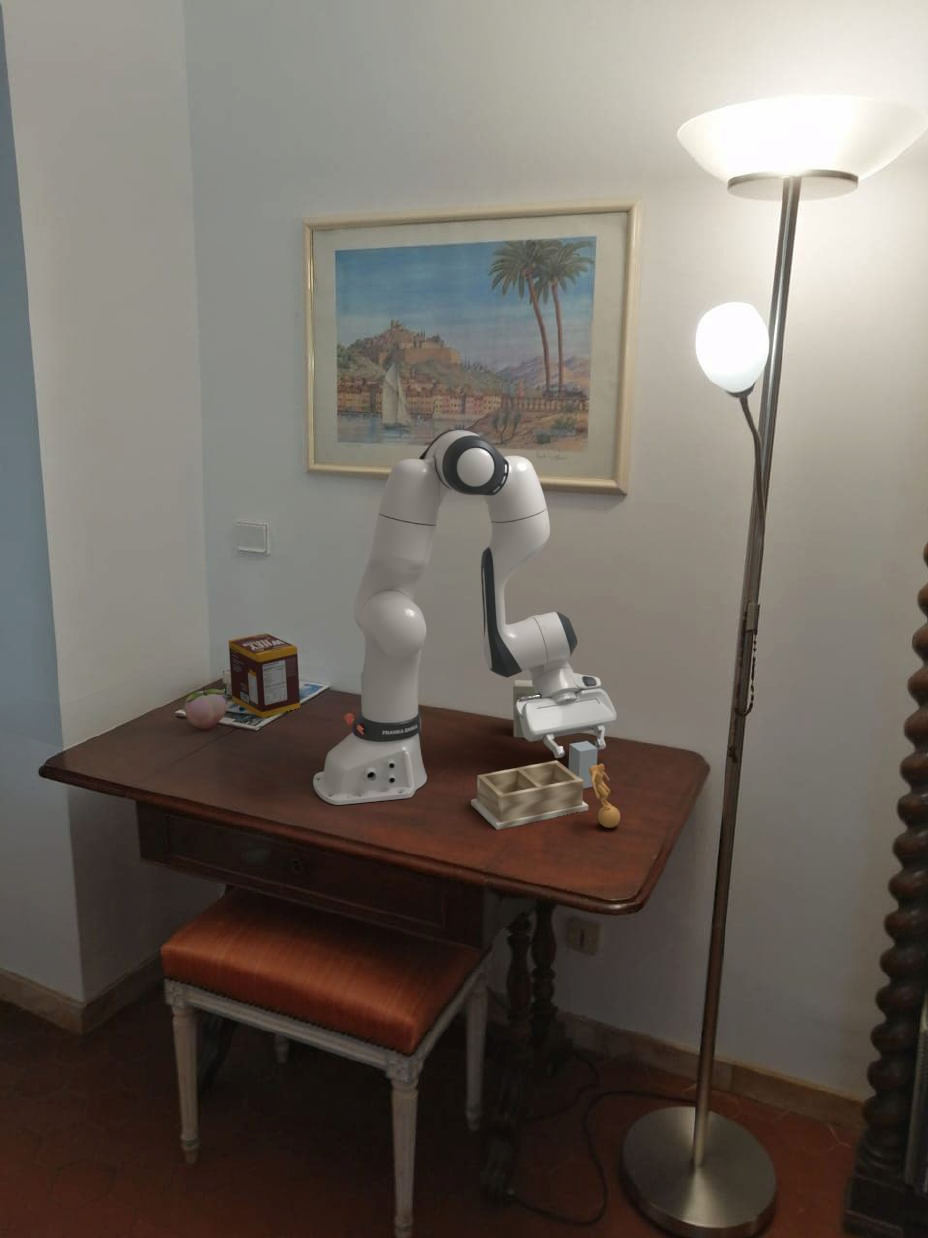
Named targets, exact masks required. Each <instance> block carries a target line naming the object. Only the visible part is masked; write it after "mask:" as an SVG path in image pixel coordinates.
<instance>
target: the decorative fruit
mask: <svg viewBox="0 0 928 1238" xmlns="http://www.w3.org/2000/svg"><path fill="white" fill-rule="evenodd" d="M221 694H226V692H224V691H223V690H222V689H217V688H210V689H207V690H205V687H202V690H201V691H196V692H194V693H192V694H190V695H188V697H187V698H186V699H185V700H184V713H185V717H186V718H187V720H188V721H189V723H191V725H192V726H194V727H196V728H199V729H203V730H209V729H211V728H213V727H214V726H216V725H217V724H219V722H220V721H221V720H222V719H223V718H224V717H225V714H226V712H227V709H228V708H227V701H226V699H225V697H223V695H221Z"/></svg>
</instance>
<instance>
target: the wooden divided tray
mask: <svg viewBox="0 0 928 1238" xmlns="http://www.w3.org/2000/svg"><path fill="white" fill-rule="evenodd" d="M476 778H477V785H476V787H477V791H476V795H477V796H476V798H473V799H471V800H470V801H471V802H470V805H471V806H472V807H473V808H474V809H475V810H477V812H478V813H479V814H480V815H481V816H483V818H484V819H485V820H486V821H487V822H488V823H490V825H492V827H494V829H496V830H498V831H499V830H502V829H507V828H512V827H517V826H521V825H526V824H530V823H535V822H539V821H540V822H541V821H545V820H549V819H553V818H557V817H558V816H559V817H563V815H564V816H568V815H571V814H572V813H573V814H577V813H582V812H586V811H589V804H587V803H586V802H585V801H584V800H583V798H584V797H583V795H584V788H583V780H582V779H581V778H579V777H578V776H577V775H575V774H574V773H573V772H571V771H570V770H569V768H568V767H566V766H564V765H563V764H562V763H561V762H560V761H558V760H552V761H547V762H546V761H545V762H542V763H541V762H540V763H537V764H529V765H526V766H525V765H524V766H519V767H515V768H510V769H504V770H499V771H493V772H490V773H488V772H487V773H483V774H478V775H477V777H476ZM576 812H577V813H576ZM567 814H568V815H567ZM559 817H558V818H559Z"/></svg>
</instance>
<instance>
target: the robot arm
mask: <svg viewBox="0 0 928 1238" xmlns="http://www.w3.org/2000/svg"><path fill="white" fill-rule="evenodd" d="M452 490H453V491H455V492H458V493H460V494H463V495H467V496H483V499H484V501H485V503H486V505H487V509H488V513H489V515H488V516H489V518H490V524H491V536H490V540H489V544H488V546H487V547H486V548H485V549H484V550H482V553H481V554H482V555H481V560H480V579H481V583H480V584H481V595H482V596H481V598H482V599H481V600H482V614H483V615H482V617H483V647H482V648H483V651H482V652H483V657H484V660H485V663H486V665H487V667H488V669H489V671H491V672H493V673H494V674H496V675H498V676H501V677H503V678H507V679H508V678H510V677H513V676H515V675H518V674H520V673H522V672H525V671H528V672H529V673H530V677H531V680H532V685H533V687H534V690H535V693H536V694H534V695H530V696H522V697H520V698H519V699H518V700H517V701H516V703H515V708H516V711H517V713H518V715H519V716H520V722H521V727H522V731H523V734H524V737H523V738H524V739H525V740H527V741H528V742H532V743H533V742H535V741H542V742H543V743H544V745H545V746H546V747H547V748H548V749H549V750H550V751H551V752H553V755H554V758H555V759H560V758H563V757H564V756H566V755H565V754H566V752H565V750H564V746H562V745H560V746H559V745H558V744H557V742H555V741H554V740H555V738H558V737H563V736H568V735H574V734H579V733H585V732H591V731H593V732H594V735H597V736H596V737H597V739H596V740H595V741H594V742H593V745H594V746H595V747H597V748H598V751H601V750H604V749H605V748H606V746H607V745H606V741H605V732H606V728H610V727H611V726H612V725H613V724H614V723H615V722H616V720H617V716H618V714H617V711H616V708H615V707H614V704H613V702H612V701H611V699H610V698H611V697H609V695H608V693H607V692H606V691H605V690H604V689H602V688H601V686H602V682H601V680H600V678H599V677H597V676H592V675H587V674H582V673H581V674H580V673H577V672H575V671H574V670H573V668H572V667H571V665H570V664H569V662H568V659H569V658H571V656H572V655H573V653H574V652H575V650H576V647H577V646H578V638H577V636H576V632H575V631H574V628H573V625H572V623H571V622H572V621H570V617H567V616H566V615H565V614H563V613H561V612H558V611H552V612H547V613H543V614H534V615H531V616H529V617H526V619H524V620H520V621H517V622H514V623H510V624H507V623H506V620H507V619H506V607H505V606H506V605H505V587H506V584H507V583H508V581H509V579H511V577H512V576H513V575H514V574H515V573H516V572H517V571H518V570H520V568H522V567H523V566H525V565H526V564H528V563H529V562H530V561H531V560H533V559H534V558H535V557H537V555H539V554H540V552H542V550H543V549H544V547H545V546H546V545H547V543H548V540H549V538H550V534H551V526H550V525H551V524H550V517H549V511H548V507H547V502H546V499H545V494H544V491H543V489H542V485H541V483H540V480H539V477H538V474H537V472H536V470H535V467H534V465H533V463H532V462H531V461H530V460H529V459H528V458H526V457H523V456H520V455H506V456H503V454H501V452H500V451H499V449H497V448H496V446H494V444H493V443H492V442H490V441H489V440H487V439H486V438H484V437H482V436H480V435H479V434H477V433H476V432H472V431H470V430H462V429H448V430H447V431H446V430H445V431H443V432H442V433H440V434H439V435H437V436H436V437H435V438H434V439H433V440H432V442H431V443H430V444H429V445H428V446H427V448H426V449H425V450H424V451H423V453H421V455H420V456H419V458H405V459H402V460H399V461H398V462H396V463H395V464H394V465H393V467H392V468H391V471H390V473H389V474H388V478H387V480H386V484H385V486H384V490H383V493H382V494H381V495H382V496H381V499H380V504H379V507H378V508H379V509H378V513H377V514H378V515H377V519H376V523H375V524H376V525H375V529H374V536H373V540H372V546H371V550H370V554H369V557H368V561H367V564H366V567H365V570H364V572H363V575H362V578H361V581H360V585H359V588H358V591H357V593H356V594H355V597H354V600H353V617H354V620H355V622H356V624H357V626H358V627H359V628H360V630H361V631H362V633H363V636H364V640H365V650H364V651H365V652H364V660H363V661H364V662H363V669H362V671H361V675H360V683H361V684H360V688H361V690H360V691H361V692H360V693H361V696H360V698H361V711H360V713H359V714H358V715H357V716H355V715H354V714H353V713H352V712H348V713H346V714H345V716H344V721H345V723H347V724H348V725H349V726H352V732H351V733H350V734H348V735H347V736H346V737H345V738H344V739H342V740H341V741H340V742H339V743H338V744H336V746H334V747H333V748H331V749H330V750H329V751H328V753H327V755H326V758H325V760H324V768H323V771H320V772H317V773H315V775H314V776H313V778H312V779H313V780H312V786H313V789H314V791H315V792H316V794H317V795H318V797H320V798H321V799H322V800H323V801H325V802H327V803H329V804H332V805H335V806H342V805H350V804H351V805H352V804H361V803H363V804H364V803H371V802H381V801H390V800H392V801H393V800H401V799H410V798H412V797H413V796H414V794H415V793H416V791H417V790H419V788H421V787H422V786H424V785H425V784H426V782H427V780H428V775H427V773H426V769H425V766H424V762H423V757H422V750H421V743H420V739H421V736H422V735H421V734H422V733H421V731H422V720H421V711H420V710H419V670H420V663H421V658H422V654H423V653H422V651H423V645H424V643H425V642H426V638H427V631H428V630H427V625H426V620H425V617H424V613H423V612H422V610H421V609H420V607H419V606H418V605H417V604H416V603H415V602H414V600H415V594H416V590H417V588H418V585H419V582H420V580H421V577H422V575H423V573H424V571H425V570H426V569H427V568H428V566H429V563H430V559H431V554H432V548H433V544H434V539H435V534H436V530H437V529H436V528H437V524H438V518H439V512H440V510H439V509H440V507H441V505H442V503H443V500H444V499H445V497H446V496H447V495H448V494H449V493H450V492H452ZM519 701H520V702H519Z"/></svg>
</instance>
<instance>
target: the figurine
mask: <svg viewBox="0 0 928 1238" xmlns="http://www.w3.org/2000/svg"><path fill="white" fill-rule="evenodd" d="M605 769H606V768H605V765H604V764H603V763H599V764H597V765H593V766H591V767H590V768H589V773H590V775H591V777H592V778H591V783H592V786H593V787H592V788H593V790H594V792H595V796H596V799H597V800H600V804H601V805H602V807H601V808H600V809H599V811H598V813H597V819H598V820H597V821H598V822H599V824H601V826H602V827H605V828H608V829H611V828H615V827H616V826H617V825H618V824H619V823H620V821H621V813H620V810H619V809H618V808H617V807H615V806H613V805H612V803H610V802H608V800H607V799H608V798H609V795H610V793H611V790H610V788H609V787H608V786H607V785H606V783H605V782H604V780H603V778H604V777H605V778H606V780H607V781H608V782H609V781H610V778H609V777H608V775H607V774H606V772H605V771H604V770H605ZM594 781H595V783H594ZM595 784H596V786H595ZM601 795H602V797H601Z"/></svg>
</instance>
